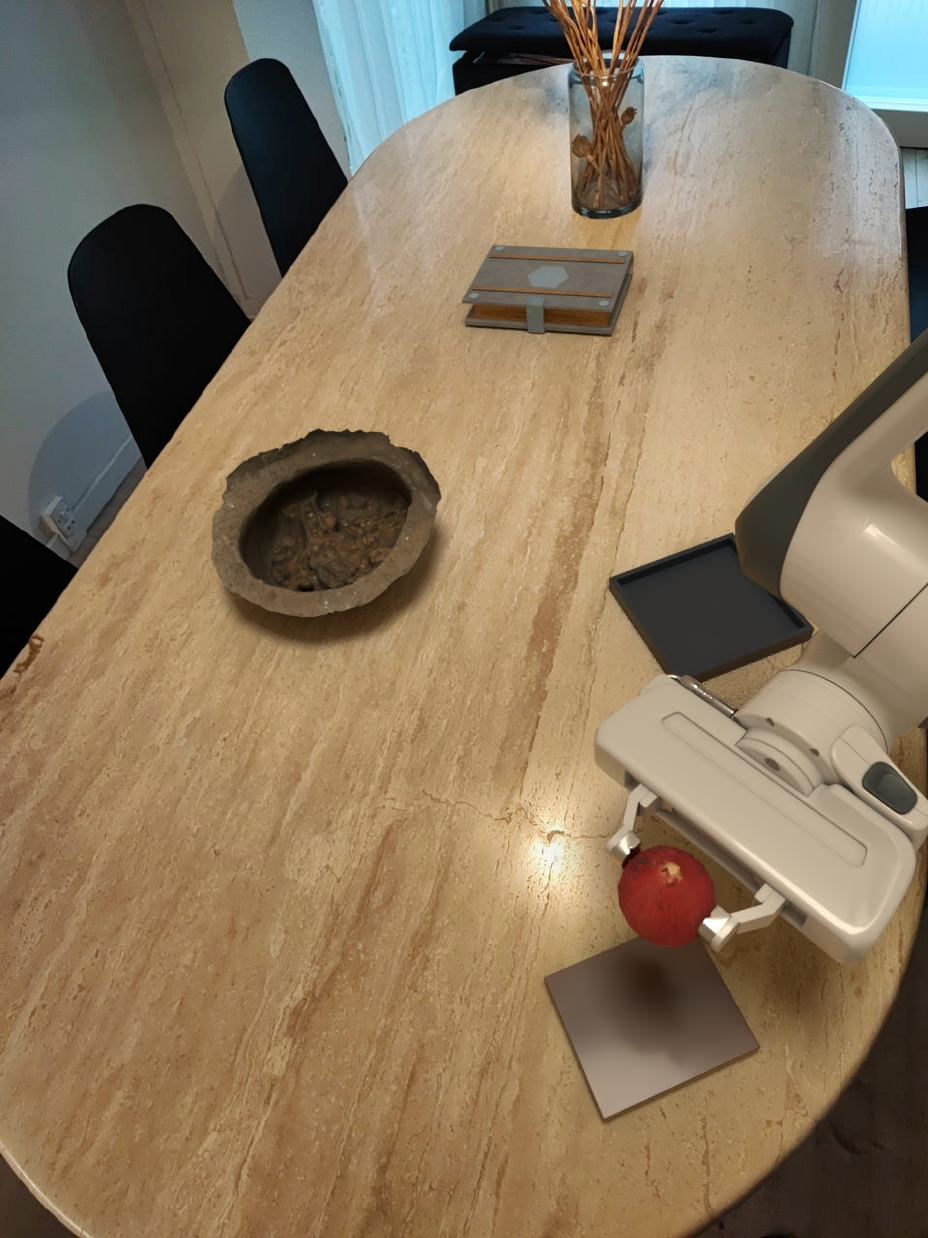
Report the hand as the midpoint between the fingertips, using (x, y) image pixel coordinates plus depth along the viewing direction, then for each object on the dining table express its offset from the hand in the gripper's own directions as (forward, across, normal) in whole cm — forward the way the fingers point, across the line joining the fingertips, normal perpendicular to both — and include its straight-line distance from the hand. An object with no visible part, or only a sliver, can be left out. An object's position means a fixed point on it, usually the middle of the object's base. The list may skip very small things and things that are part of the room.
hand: (659, 898), depth 51 cm
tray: (-31, -19, +17) cm, 40 cm away
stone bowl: (-10, -53, +17) cm, 56 cm away
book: (-63, -71, +17) cm, 96 cm away
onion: (-1, 0, +5) cm, 5 cm away
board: (+2, +2, +17) cm, 17 cm away
